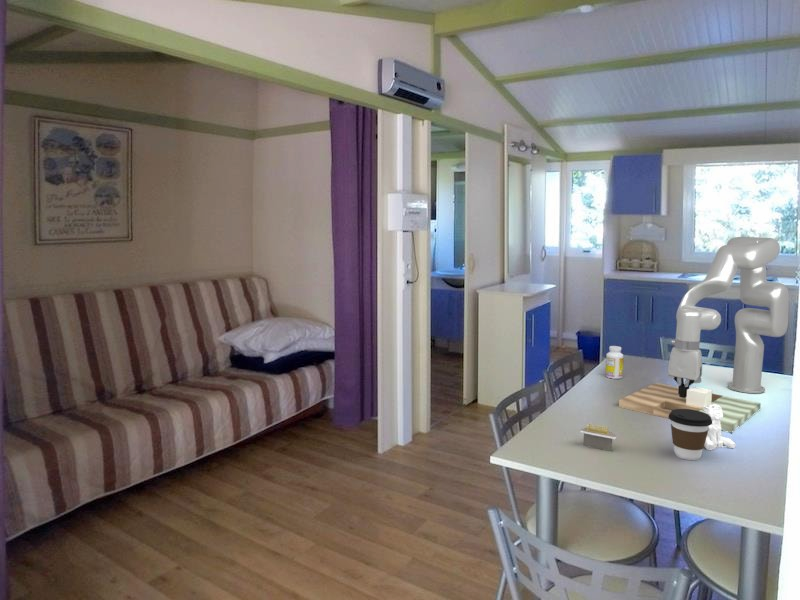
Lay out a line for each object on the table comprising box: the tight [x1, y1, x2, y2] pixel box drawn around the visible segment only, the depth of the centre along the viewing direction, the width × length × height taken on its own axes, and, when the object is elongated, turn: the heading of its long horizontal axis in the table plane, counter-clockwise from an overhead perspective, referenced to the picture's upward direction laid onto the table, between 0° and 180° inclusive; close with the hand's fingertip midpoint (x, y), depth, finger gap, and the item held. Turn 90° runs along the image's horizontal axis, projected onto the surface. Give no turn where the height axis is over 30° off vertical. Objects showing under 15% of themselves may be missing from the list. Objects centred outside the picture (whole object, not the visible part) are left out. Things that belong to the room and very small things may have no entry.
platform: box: [579, 423, 617, 452], centre depth 174 cm, size 12×18×7 cm, turn 57°
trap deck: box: [618, 382, 762, 433], centre depth 210 cm, size 32×36×2 cm
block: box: [686, 386, 713, 407], centre depth 207 cm, size 6×6×5 cm
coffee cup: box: [668, 409, 712, 461], centre depth 167 cm, size 11×11×12 cm
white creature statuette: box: [702, 404, 737, 451], centre depth 176 cm, size 10×9×12 cm
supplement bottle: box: [605, 345, 624, 380], centre depth 250 cm, size 7×7×13 cm
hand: (683, 396), depth 211 cm, fingers closed
